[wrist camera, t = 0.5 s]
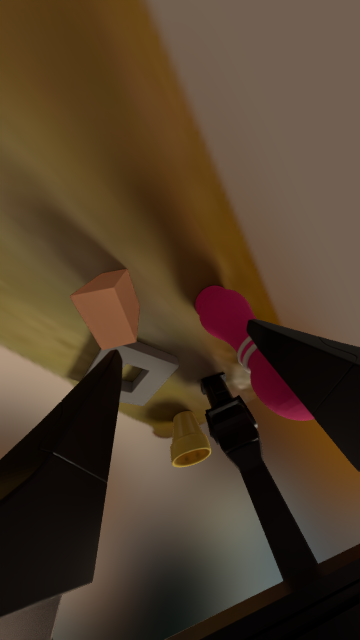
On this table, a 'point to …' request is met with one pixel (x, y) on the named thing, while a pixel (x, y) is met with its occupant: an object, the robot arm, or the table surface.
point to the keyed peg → (109, 308)
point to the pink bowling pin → (247, 348)
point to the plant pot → (188, 441)
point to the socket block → (153, 373)
